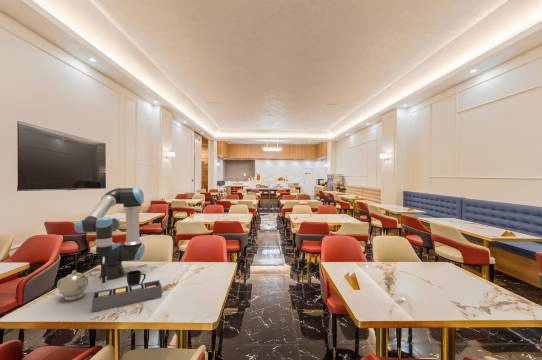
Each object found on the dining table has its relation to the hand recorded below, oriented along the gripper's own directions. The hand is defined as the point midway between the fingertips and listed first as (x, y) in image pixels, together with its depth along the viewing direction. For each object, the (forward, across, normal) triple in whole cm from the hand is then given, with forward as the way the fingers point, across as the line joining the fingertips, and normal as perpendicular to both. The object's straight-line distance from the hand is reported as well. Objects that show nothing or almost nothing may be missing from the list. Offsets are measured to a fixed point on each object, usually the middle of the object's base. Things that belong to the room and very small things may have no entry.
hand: (103, 288), depth 139 cm
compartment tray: (+10, 0, +12) cm, 16 cm away
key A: (+7, 0, 0) cm, 7 cm away
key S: (+7, 0, +16) cm, 17 cm away
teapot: (+10, -22, -17) cm, 30 cm away
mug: (+10, -19, +17) cm, 28 cm away
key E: (+9, 0, +24) cm, 26 cm away
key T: (+7, 0, +8) cm, 11 cm away
